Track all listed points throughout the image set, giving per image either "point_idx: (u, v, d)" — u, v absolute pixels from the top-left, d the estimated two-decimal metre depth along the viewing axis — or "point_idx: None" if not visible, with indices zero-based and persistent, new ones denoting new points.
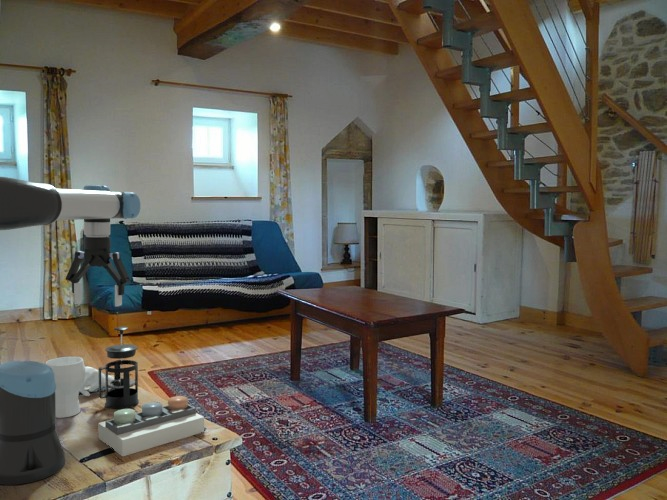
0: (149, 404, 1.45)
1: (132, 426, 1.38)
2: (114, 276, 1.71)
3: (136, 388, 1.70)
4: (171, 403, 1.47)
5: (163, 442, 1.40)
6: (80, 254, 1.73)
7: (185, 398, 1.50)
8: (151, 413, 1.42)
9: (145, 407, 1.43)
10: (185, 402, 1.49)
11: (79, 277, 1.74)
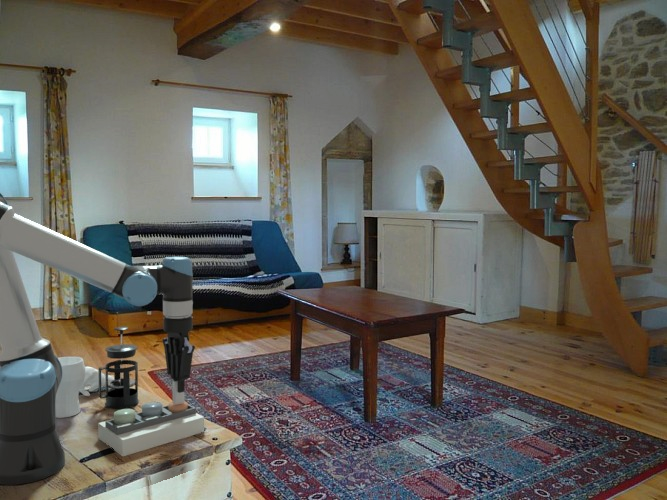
0: (149, 404, 1.45)
1: (132, 426, 1.38)
2: (177, 369, 1.47)
3: (136, 388, 1.70)
4: (171, 408, 1.47)
5: (163, 442, 1.40)
6: (167, 340, 1.52)
7: (185, 403, 1.50)
8: (151, 413, 1.42)
9: (145, 407, 1.43)
10: (185, 407, 1.49)
11: (176, 369, 1.49)
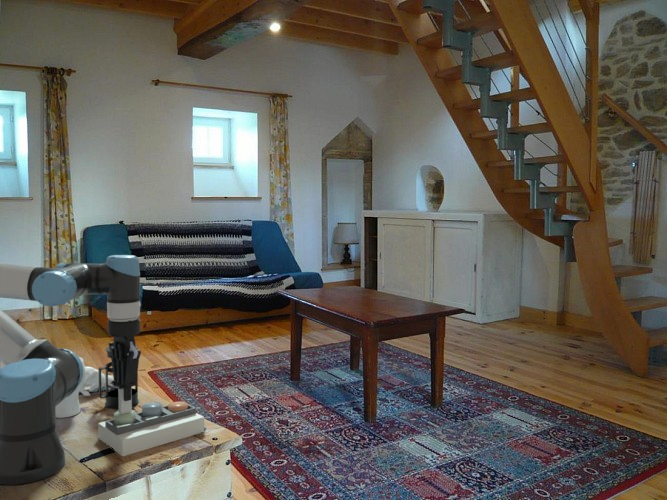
0: (149, 404, 1.45)
1: (132, 426, 1.38)
2: (122, 376, 1.37)
3: (136, 388, 1.70)
4: (171, 409, 1.48)
5: (163, 442, 1.40)
6: None
7: (185, 404, 1.50)
8: (151, 413, 1.42)
9: (145, 407, 1.43)
10: (185, 408, 1.49)
11: None
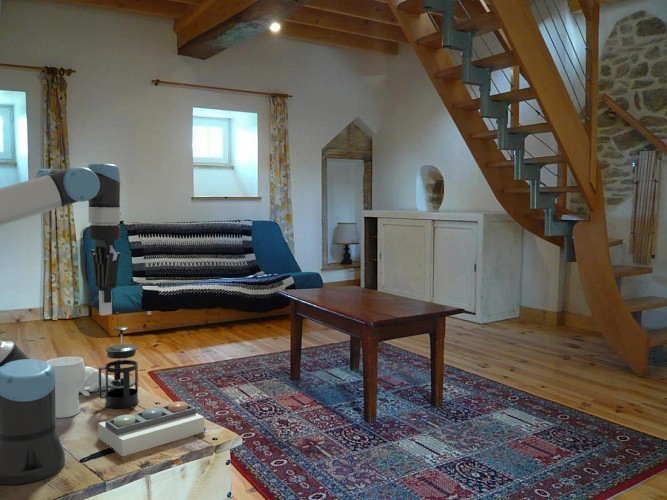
0: (149, 410, 1.45)
1: (132, 426, 1.38)
2: (102, 278, 1.44)
3: (136, 388, 1.70)
4: (171, 409, 1.48)
5: (163, 442, 1.40)
6: (95, 251, 1.49)
7: (185, 404, 1.50)
8: None
9: (145, 413, 1.43)
10: (185, 408, 1.49)
11: None
